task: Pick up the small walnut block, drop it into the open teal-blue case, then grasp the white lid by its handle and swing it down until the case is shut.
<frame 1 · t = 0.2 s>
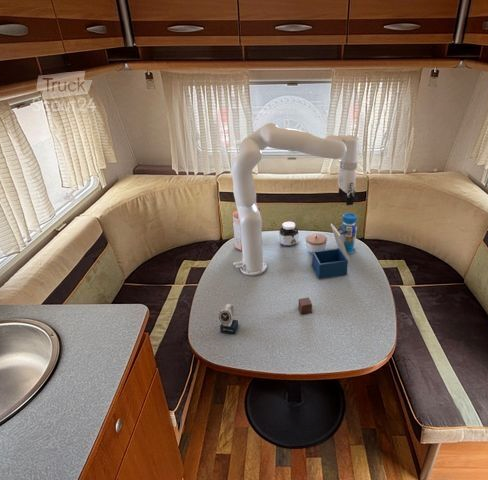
hand: (345, 200, 165), 31 cm above the table, tool pointing down, fingers open, 9 cm apart
case: (329, 269, 171), on the table
beverage bottle: (346, 250, 186), on the table
spread jar: (289, 241, 195), on the table
watch: (229, 329, 136), on the table
trinket box: (315, 251, 186), on the table
block: (305, 309, 146), on the table
cracker box: (248, 245, 192), on the table
lid: (343, 240, 164), point 16 cm above the table, hinge at 70.0°
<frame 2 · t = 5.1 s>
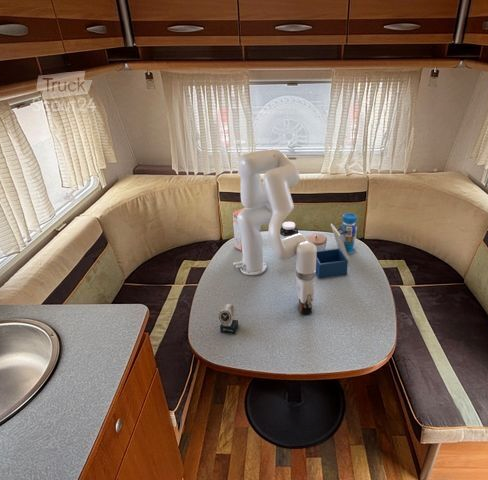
hand: (305, 309, 146), 0 cm above the table, tool pointing down, fingers closed on block, 4 cm apart
block: (305, 309, 146), on the table, touching gripper
everything else where it was.
when the fingers open (7 cm above the table, at t = 11.5 s): block drops 6 cm, resting on case.
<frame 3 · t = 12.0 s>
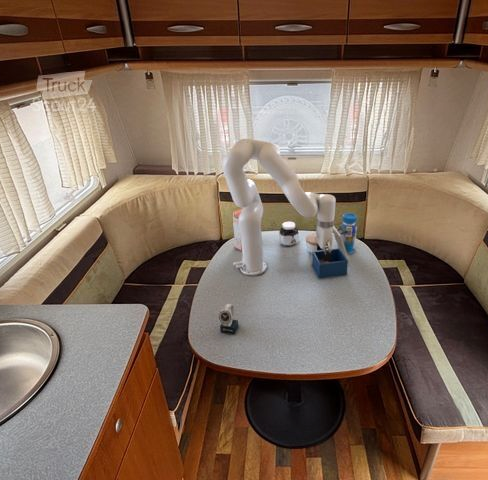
hand: (323, 255, 166), 9 cm above the table, tool pointing down, fingers open, 9 cm apart
block: (323, 269, 170), point 1 cm above the table, touching case
everything else where it was.
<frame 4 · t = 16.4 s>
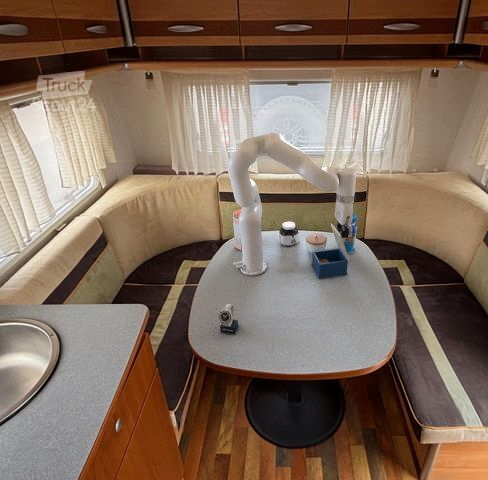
hand: (342, 234, 162), 19 cm above the table, tool pointing down, fingers closed on lid, 5 cm apart
lid: (343, 240, 164), point 16 cm above the table, hinge at 70.0°, touching gripper
everything else where it was.
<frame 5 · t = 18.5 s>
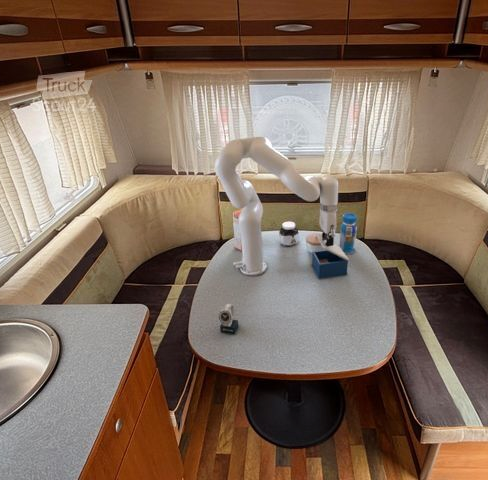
hand: (327, 242, 163), 16 cm above the table, tool pointing down, fingers closed on lid, 5 cm apart
lid: (334, 244, 164), point 14 cm above the table, hinge at 34.4°, touching gripper
everything else where it was.
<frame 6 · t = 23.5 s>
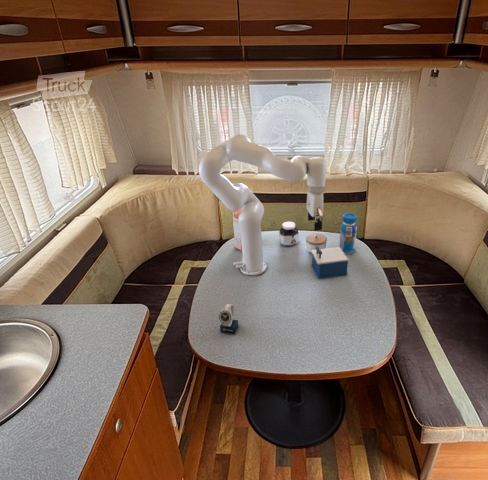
hand: (314, 224, 157), 25 cm above the table, tool pointing down, fingers open, 9 cm apart
lid: (329, 251, 166), point 10 cm above the table, hinge at 0.5°
everything else where it was.
at the end: block inside the target area in the case (3.0 cm from its centre), point 0.8 cm above the case's base; lid at +0° (first picture: +70°) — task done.
